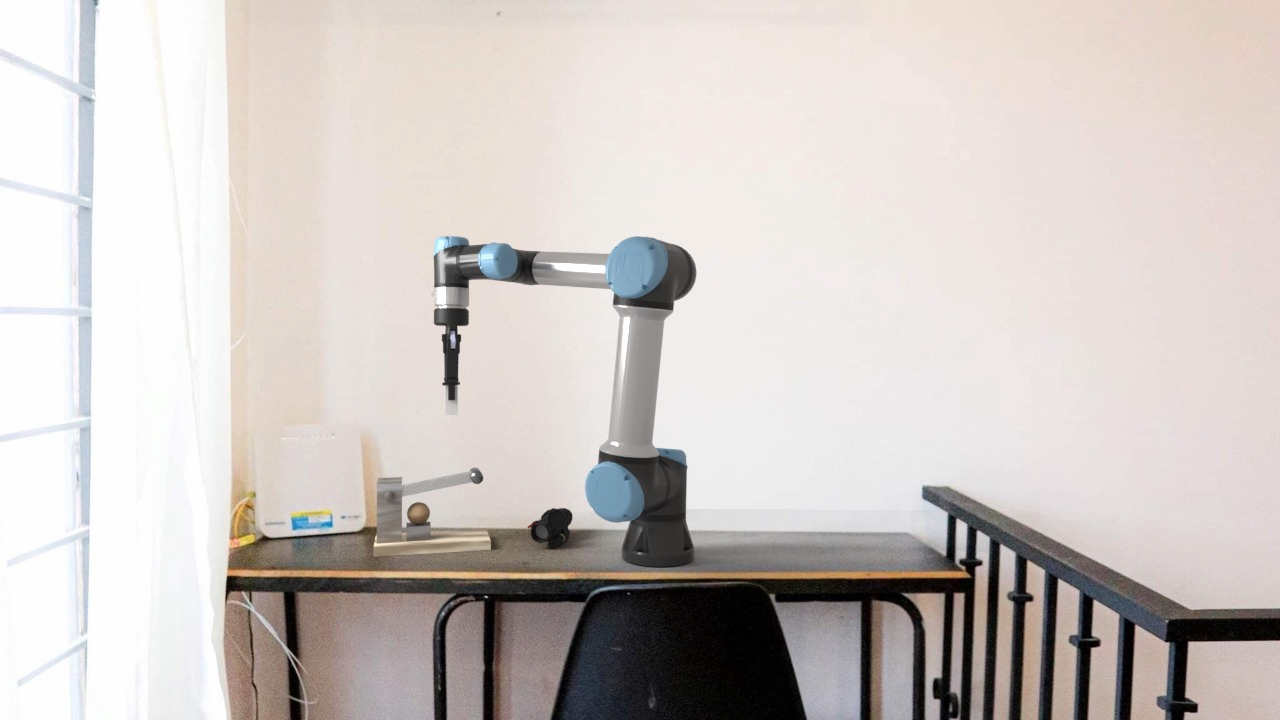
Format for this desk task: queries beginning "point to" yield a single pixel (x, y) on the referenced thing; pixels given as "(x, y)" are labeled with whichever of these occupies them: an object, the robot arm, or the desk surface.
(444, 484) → the lever
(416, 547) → the press base
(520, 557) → the desk surface
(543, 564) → the desk surface
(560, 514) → the night vision scope
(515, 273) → the robot arm
